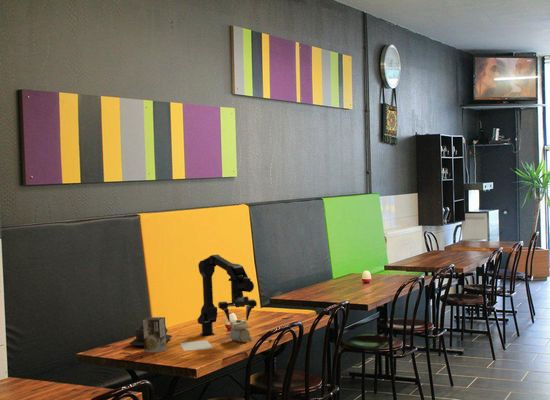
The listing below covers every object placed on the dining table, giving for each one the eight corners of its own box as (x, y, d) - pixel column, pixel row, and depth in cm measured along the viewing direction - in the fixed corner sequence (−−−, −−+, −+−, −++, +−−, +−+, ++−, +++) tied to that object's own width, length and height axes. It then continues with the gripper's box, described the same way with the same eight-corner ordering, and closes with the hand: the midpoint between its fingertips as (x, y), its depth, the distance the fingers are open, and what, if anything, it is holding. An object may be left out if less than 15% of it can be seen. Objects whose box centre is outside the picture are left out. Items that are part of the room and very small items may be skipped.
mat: (179, 344, 372) (179, 343, 372) (207, 341, 375) (207, 340, 375) (184, 351, 354) (184, 350, 354) (213, 349, 358) (213, 348, 358)
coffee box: (167, 350, 359) (165, 317, 359) (160, 353, 353) (159, 319, 353) (150, 349, 362) (149, 316, 362) (143, 352, 356) (142, 319, 356)
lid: (230, 325, 377) (229, 318, 376) (243, 324, 378) (243, 317, 378) (234, 329, 366) (233, 322, 366) (247, 328, 367) (247, 321, 367)
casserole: (152, 337, 391) (151, 321, 391) (180, 339, 382) (180, 323, 382) (121, 347, 369) (120, 330, 369) (150, 350, 360) (149, 333, 360)
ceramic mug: (240, 344, 367) (239, 328, 367) (229, 341, 373) (229, 326, 373) (255, 340, 374) (255, 325, 374) (245, 338, 380) (244, 323, 380)
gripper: (221, 293, 361) (222, 325, 362) (258, 291, 366) (259, 322, 366) (217, 290, 372) (218, 321, 372) (253, 288, 377) (254, 318, 377)
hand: (238, 321), depth 372 cm, fingers open, 9 cm apart
